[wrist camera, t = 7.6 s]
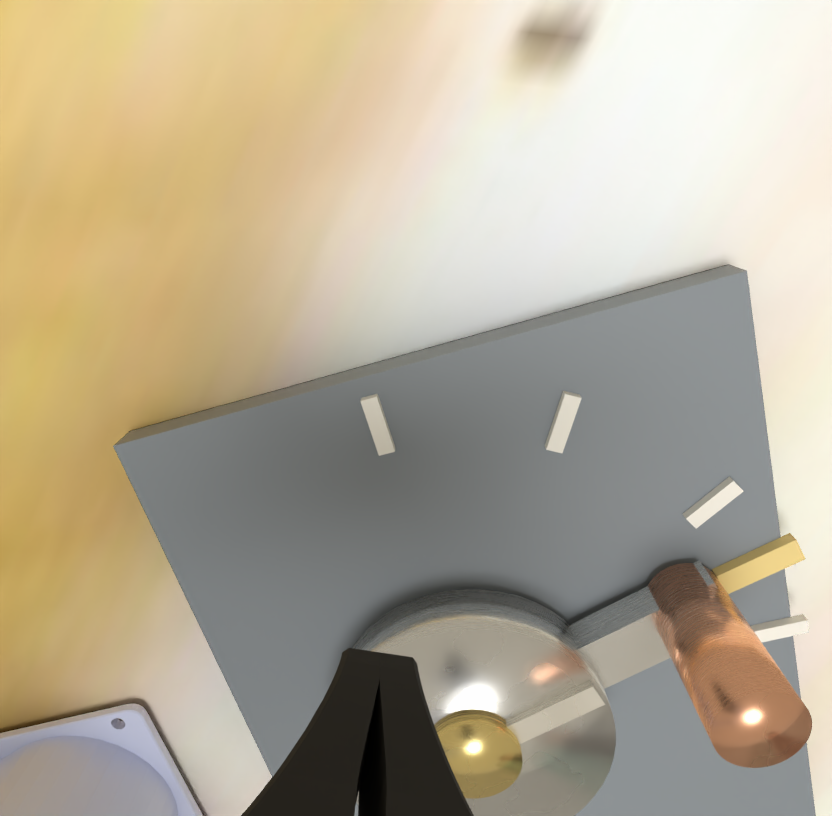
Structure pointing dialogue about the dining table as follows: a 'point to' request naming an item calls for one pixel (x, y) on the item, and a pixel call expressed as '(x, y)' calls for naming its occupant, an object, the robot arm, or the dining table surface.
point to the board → (494, 514)
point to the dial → (582, 684)
